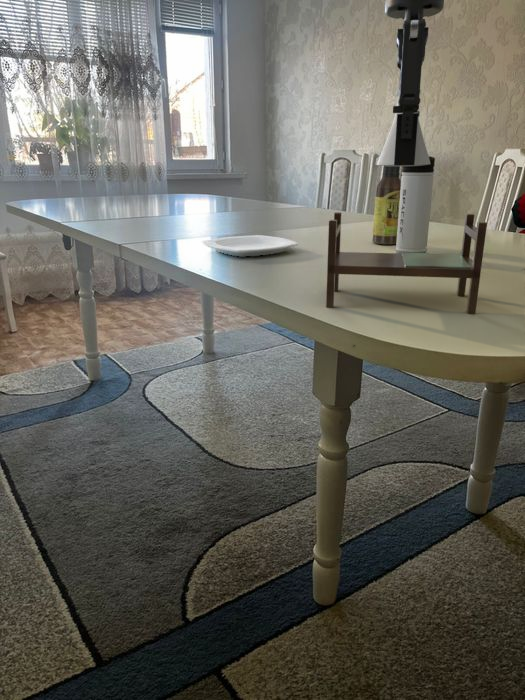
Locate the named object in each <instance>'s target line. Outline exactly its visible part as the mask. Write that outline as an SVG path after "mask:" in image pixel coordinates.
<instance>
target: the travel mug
mask: <svg viewBox="0 0 525 700" xmlns="http://www.w3.org/2000/svg"><path fill="white" fill-rule="evenodd" d="M429 160H430V164H428V165H421V166H402V169H401V175H402V176H400V177H401V178H400V180H401V190H400V203H399V216H398V230H397V243H396V244H395V246H396V247H395V253H401V254H402V253H427V250H428V249H427V247H428V239H429V229H430V228H429V227H430V221H431V220H430V218H431V209H432V208H431V207H432V198H433V197H432V196H433V187H434V175H435V169H434V168H435V163H436V157H434V156H429Z"/></svg>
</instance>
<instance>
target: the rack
mask: <svg viewBox="0 0 525 700" xmlns="http://www.w3.org/2000/svg"><path fill="white" fill-rule="evenodd" d="M333 214H334V215H333V219H329V220H328V235H327V236H328V238H327V265H326V266H327V270H326V301H325V307H326V308H334V307H335V306H334V305H335V292H338V291H339V285H340V275H355V276H356V275H357V276H382V277H383V276H384V277H414V278H415V277H418V278H443V279H444V278H446V279H447V278H449V279H457V288H456V295H457V297H465V295H466V290H467V289H466V288H467V287H466V286H467V281H468V279H469V287H468V288H469V289H468V294H467V303H466V313H467V314H471V315H475V314H477V313H476V312H477V303H478V296H479V290H480V289H479V288H480V282H481V281H480V280H481V273H482V267H483V266H482V265H483V257H484V251H485V243H486V234H487V228H488V223H487V222H486V221H477V223H476V226H474V223H475V222H474V221H475V214H474V213H465V218H464V227H463V228H464V229H463V235H462V236H463V238H462V246H461V253H434V252H433V253H430V252H429V253H428V252H426V253H402V254H401V253H396V252H395V253H394V252H392V253H391V252H358V251H357V252H356V251H355V252H354V251H341V236H342V212H339V211H337V212H336V211H335V212H334V213H333ZM472 240H473V241H474V247H473V255H472V256H473V257H472V258H471V257H470V255H471V247H472Z"/></svg>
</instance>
